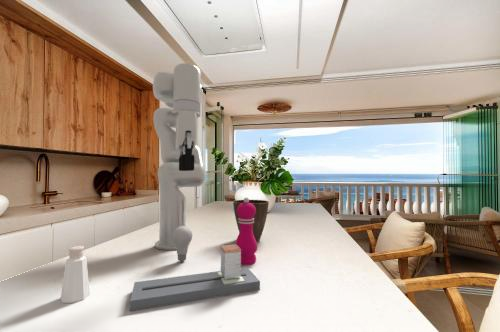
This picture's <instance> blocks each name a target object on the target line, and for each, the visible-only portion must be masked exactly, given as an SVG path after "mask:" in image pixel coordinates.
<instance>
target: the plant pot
mask: <svg viewBox="0 0 500 332" xmlns="http://www.w3.org/2000/svg"><path fill="white" fill-rule="evenodd" d="M269 202H270V201H269V200H262V199H249V202H248V203H251V204H253V205H254V206H255V209H256V213H255V215H254V216H253V218H254V223H253V226H252V230H253V234H254V237H255V239H256V242H257V243H258V242H260V240H261V237H262V236H263V232H264V228H265V225H266V220H267V216H268V210H269V205H270V203H269ZM232 203H233V212H234V216H235V221H236V226H237V230H238V233H239V232H240V223H239V222H238V221H239V220H238V218H240V217H239V216H238V214H237V207H238V206H239V205H240V204H241V203H244V199H237V200H233V201H232Z"/></svg>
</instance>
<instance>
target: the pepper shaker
mask: <svg viewBox="0 0 500 332" xmlns="http://www.w3.org/2000/svg"><path fill="white" fill-rule="evenodd" d="M84 250H85V246H83V245H76V246H75V245H74V246H72V247H70V248H69V249H68V251H69V253H68V256H69V257H68V258H67V259H66V261H65V265H64V266H65V267H64V271H63V272H64V273H63V280H62V286H61V293H60V298H59V299H60V301H61V303H62V304H73V303H77V302H80V301H84V300H85V299H86V298H87V297H89V296H90V295H91V293H90V283H89V271H88V262H87V257H86V256H85V255H84V253H85V252H84Z"/></svg>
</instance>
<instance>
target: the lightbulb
mask: <svg viewBox="0 0 500 332" xmlns="http://www.w3.org/2000/svg"><path fill="white" fill-rule="evenodd" d="M192 238H193V232H192V230H191V229H190V228H189V227H187V226H180V227H178V228H176V229H175V230H174V232H173V234H172V240H173V242H174V244H175V246H176V249H175V250H176V254H177V261H179V262H181V263H183V262H184V261H186V260H187V254H188V249H189V245H190V243H191V241H192Z"/></svg>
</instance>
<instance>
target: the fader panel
mask: <svg viewBox="0 0 500 332" xmlns="http://www.w3.org/2000/svg"><path fill="white" fill-rule="evenodd" d="M260 286H261V281H260V280H259V278H257V276H256V275H255V274H254V273H253V272H252V271H251V269H250V268H248V267H241V277H238V278H231V279H224V278H223V276H222V274H221V270H218V271H211V272H203V273H196V274H187V275H179V276H173V277H164V278H163V277H162V278H156V279H150V280H140V281H134V283H133V288H132V291H131V296H130V301H129V312H131V311H133V312H134V311H139V310H140V311H141V310H144V309H150V308H157V307H163V306H169V305H175V304H181V303H187V302H192V301H198V300H205V299H211V298H216V297H223V296H229V295H235V294H242V293H247V292H253V291H254V292H255V291H259V290H261V289H260V288H261V287H260Z"/></svg>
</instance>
